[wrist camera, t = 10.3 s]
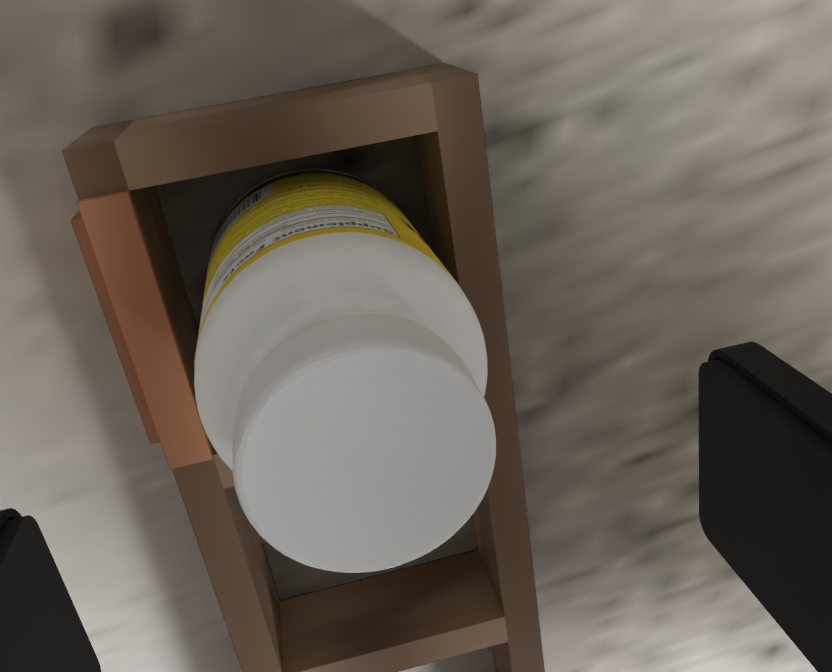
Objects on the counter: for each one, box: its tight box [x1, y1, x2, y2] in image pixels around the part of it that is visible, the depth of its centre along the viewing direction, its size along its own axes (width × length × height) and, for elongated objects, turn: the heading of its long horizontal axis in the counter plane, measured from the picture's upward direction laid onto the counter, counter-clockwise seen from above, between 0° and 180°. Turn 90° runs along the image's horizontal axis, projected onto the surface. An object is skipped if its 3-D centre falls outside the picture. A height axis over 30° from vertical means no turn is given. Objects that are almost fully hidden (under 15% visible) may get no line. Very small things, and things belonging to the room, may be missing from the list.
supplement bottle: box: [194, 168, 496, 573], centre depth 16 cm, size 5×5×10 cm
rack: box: [62, 64, 545, 672], centre depth 22 cm, size 9×24×3 cm, turn 9°
